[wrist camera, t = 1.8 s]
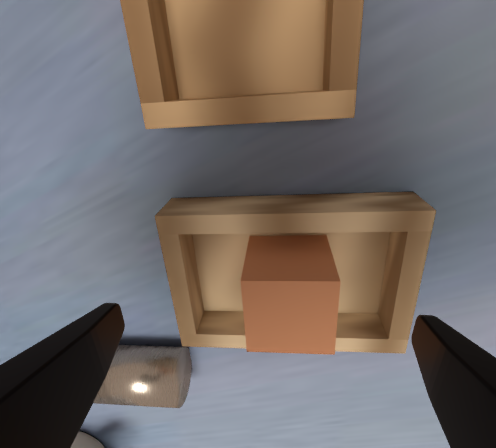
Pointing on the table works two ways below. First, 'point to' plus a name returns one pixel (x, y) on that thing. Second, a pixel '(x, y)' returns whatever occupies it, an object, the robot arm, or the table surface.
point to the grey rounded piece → (147, 377)
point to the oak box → (244, 60)
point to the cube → (290, 295)
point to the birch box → (293, 224)
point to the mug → (86, 441)
